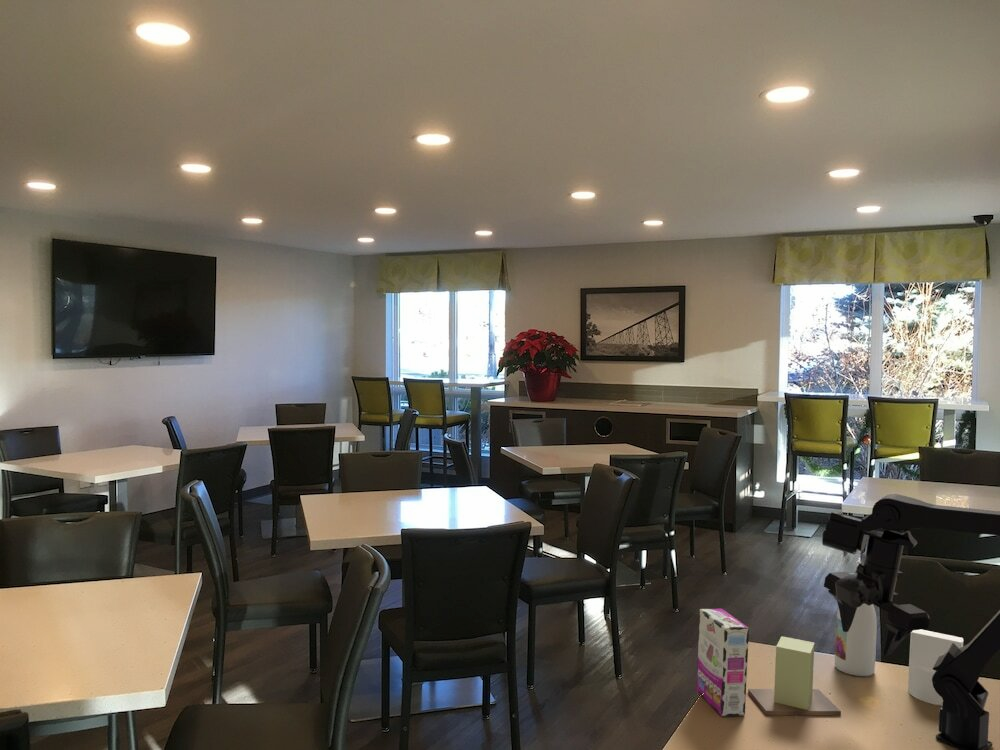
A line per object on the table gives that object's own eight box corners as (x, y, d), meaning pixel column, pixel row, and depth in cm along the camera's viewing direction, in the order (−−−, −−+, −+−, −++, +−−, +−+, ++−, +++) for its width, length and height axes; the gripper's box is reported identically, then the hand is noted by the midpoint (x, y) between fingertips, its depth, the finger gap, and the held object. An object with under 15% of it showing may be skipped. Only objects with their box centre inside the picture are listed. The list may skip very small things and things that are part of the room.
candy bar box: (747, 716, 142) (750, 627, 141) (721, 718, 141) (725, 628, 140) (719, 689, 153) (722, 606, 152) (695, 690, 152) (698, 607, 151)
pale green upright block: (812, 697, 148) (814, 642, 148) (807, 710, 143) (810, 653, 142) (779, 689, 151) (781, 636, 151) (773, 702, 146) (776, 646, 145)
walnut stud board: (818, 693, 152) (819, 674, 152) (840, 715, 143) (841, 695, 143) (748, 692, 151) (748, 673, 151) (766, 715, 142) (766, 694, 142)
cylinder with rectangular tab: (961, 693, 154) (964, 633, 153) (958, 710, 146) (962, 647, 146) (910, 680, 159) (913, 623, 158) (904, 697, 151) (908, 636, 151)
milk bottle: (877, 668, 165) (881, 575, 164) (871, 680, 158) (875, 583, 157) (838, 659, 169) (842, 568, 168) (830, 671, 163) (835, 576, 162)
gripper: (810, 544, 146) (795, 622, 148) (894, 586, 130) (876, 673, 132) (852, 543, 151) (837, 619, 153) (939, 583, 134) (921, 667, 136)
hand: (865, 643), depth 143 cm, fingers open, 9 cm apart
